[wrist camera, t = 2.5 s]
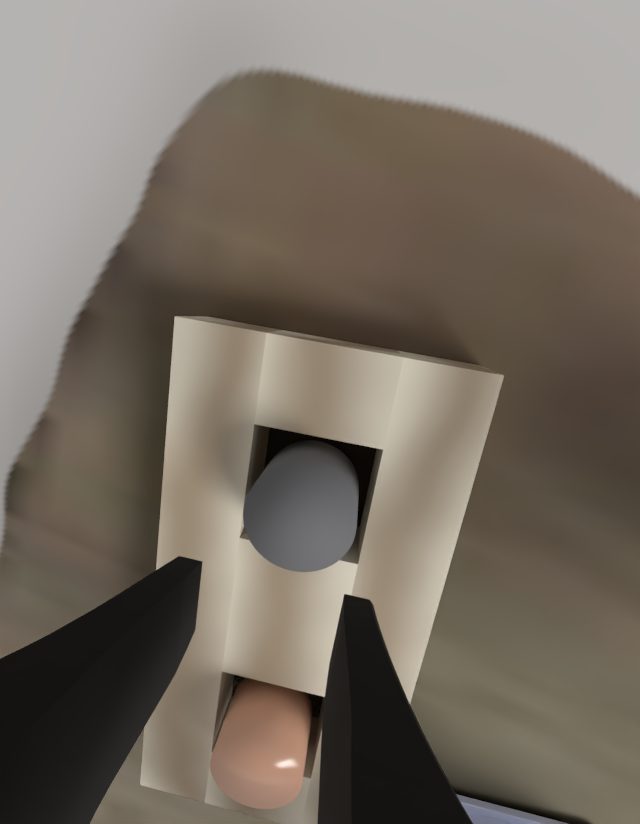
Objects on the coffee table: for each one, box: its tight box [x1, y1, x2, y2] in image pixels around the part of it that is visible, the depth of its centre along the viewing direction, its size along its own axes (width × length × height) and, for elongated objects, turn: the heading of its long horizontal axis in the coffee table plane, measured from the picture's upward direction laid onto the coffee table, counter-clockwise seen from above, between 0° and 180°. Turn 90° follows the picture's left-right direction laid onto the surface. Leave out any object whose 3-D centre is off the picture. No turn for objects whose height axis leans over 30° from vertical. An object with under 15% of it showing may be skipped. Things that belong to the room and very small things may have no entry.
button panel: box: [140, 316, 504, 824], centre depth 19 cm, size 12×24×3 cm, turn 170°
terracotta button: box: [210, 678, 312, 809], centre depth 18 cm, size 4×4×3 cm
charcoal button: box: [243, 440, 359, 572], centre depth 15 cm, size 4×4×3 cm
